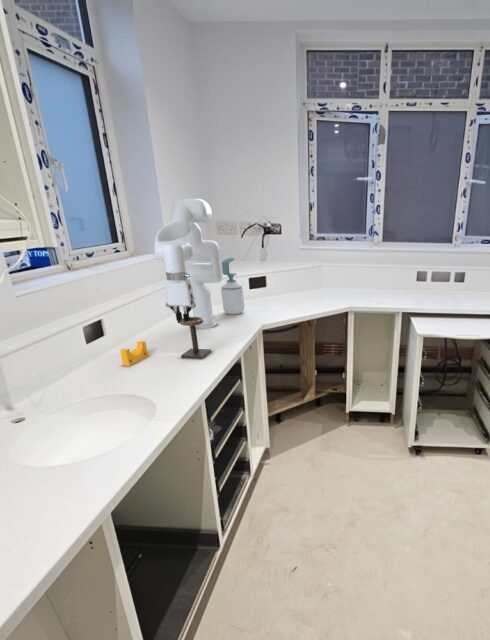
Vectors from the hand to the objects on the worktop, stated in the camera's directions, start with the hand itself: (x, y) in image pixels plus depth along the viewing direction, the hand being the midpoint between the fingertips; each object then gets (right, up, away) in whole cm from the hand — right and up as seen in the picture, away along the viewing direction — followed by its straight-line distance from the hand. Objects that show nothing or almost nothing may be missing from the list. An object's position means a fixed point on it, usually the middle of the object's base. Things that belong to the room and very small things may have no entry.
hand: (183, 322), depth 165 cm
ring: (+4, 0, -1) cm, 4 cm away
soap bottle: (+2, +17, +74) cm, 76 cm away
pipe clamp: (-19, -16, -1) cm, 25 cm away
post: (+4, -13, +5) cm, 15 cm away
